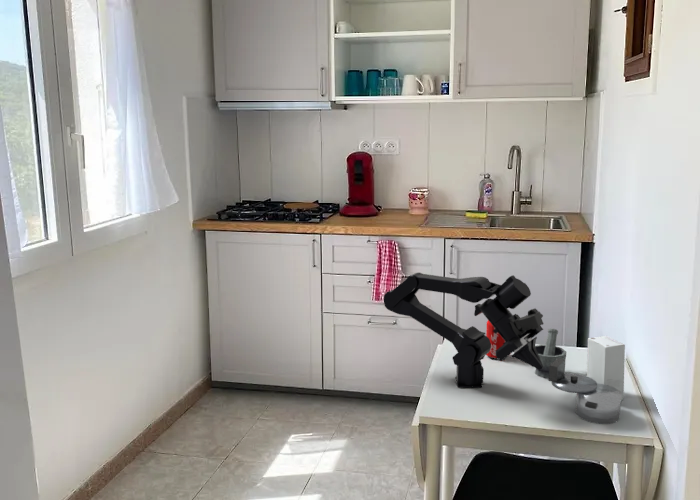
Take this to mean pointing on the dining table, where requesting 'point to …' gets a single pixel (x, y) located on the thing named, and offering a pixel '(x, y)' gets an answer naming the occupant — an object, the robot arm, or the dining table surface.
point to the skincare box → (606, 362)
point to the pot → (599, 405)
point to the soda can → (493, 340)
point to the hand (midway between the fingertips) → (541, 368)
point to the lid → (569, 379)
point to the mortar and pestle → (549, 353)
